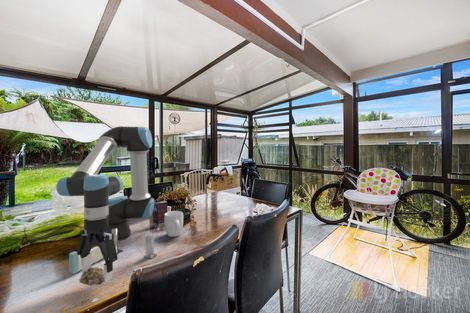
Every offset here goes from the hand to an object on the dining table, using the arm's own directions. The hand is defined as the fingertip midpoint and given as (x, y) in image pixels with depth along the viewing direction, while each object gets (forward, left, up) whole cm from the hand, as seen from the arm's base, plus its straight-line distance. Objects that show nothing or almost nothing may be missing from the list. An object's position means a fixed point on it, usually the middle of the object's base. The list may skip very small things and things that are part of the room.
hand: (96, 276), depth 76 cm
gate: (-17, +11, -3) cm, 21 cm away
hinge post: (-17, +22, -4) cm, 28 cm away
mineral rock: (0, -1, -1) cm, 1 cm away
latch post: (+2, +25, -4) cm, 25 cm away
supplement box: (-21, +61, -5) cm, 65 cm away
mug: (-2, +50, -5) cm, 51 cm away
